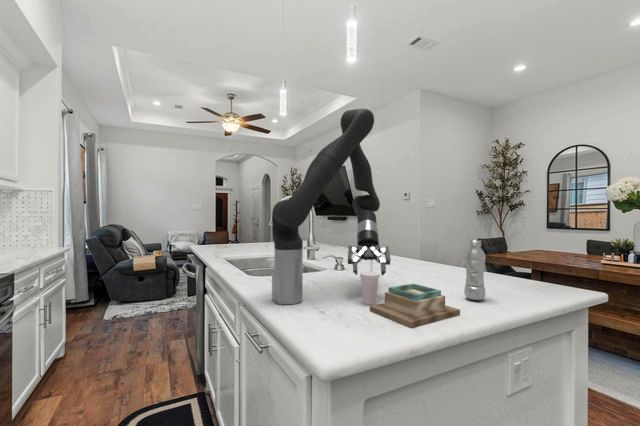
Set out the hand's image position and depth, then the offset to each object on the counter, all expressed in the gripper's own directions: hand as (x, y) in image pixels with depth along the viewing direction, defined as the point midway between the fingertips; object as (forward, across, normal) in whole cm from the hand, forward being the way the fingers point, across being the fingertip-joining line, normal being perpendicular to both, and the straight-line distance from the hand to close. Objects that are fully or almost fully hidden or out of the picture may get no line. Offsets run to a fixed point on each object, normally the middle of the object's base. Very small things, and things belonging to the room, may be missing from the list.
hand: (369, 273), depth 105 cm
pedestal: (+13, +12, 0) cm, 18 cm away
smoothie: (+8, 0, +6) cm, 10 cm away
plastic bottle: (+2, +35, +11) cm, 37 cm away
